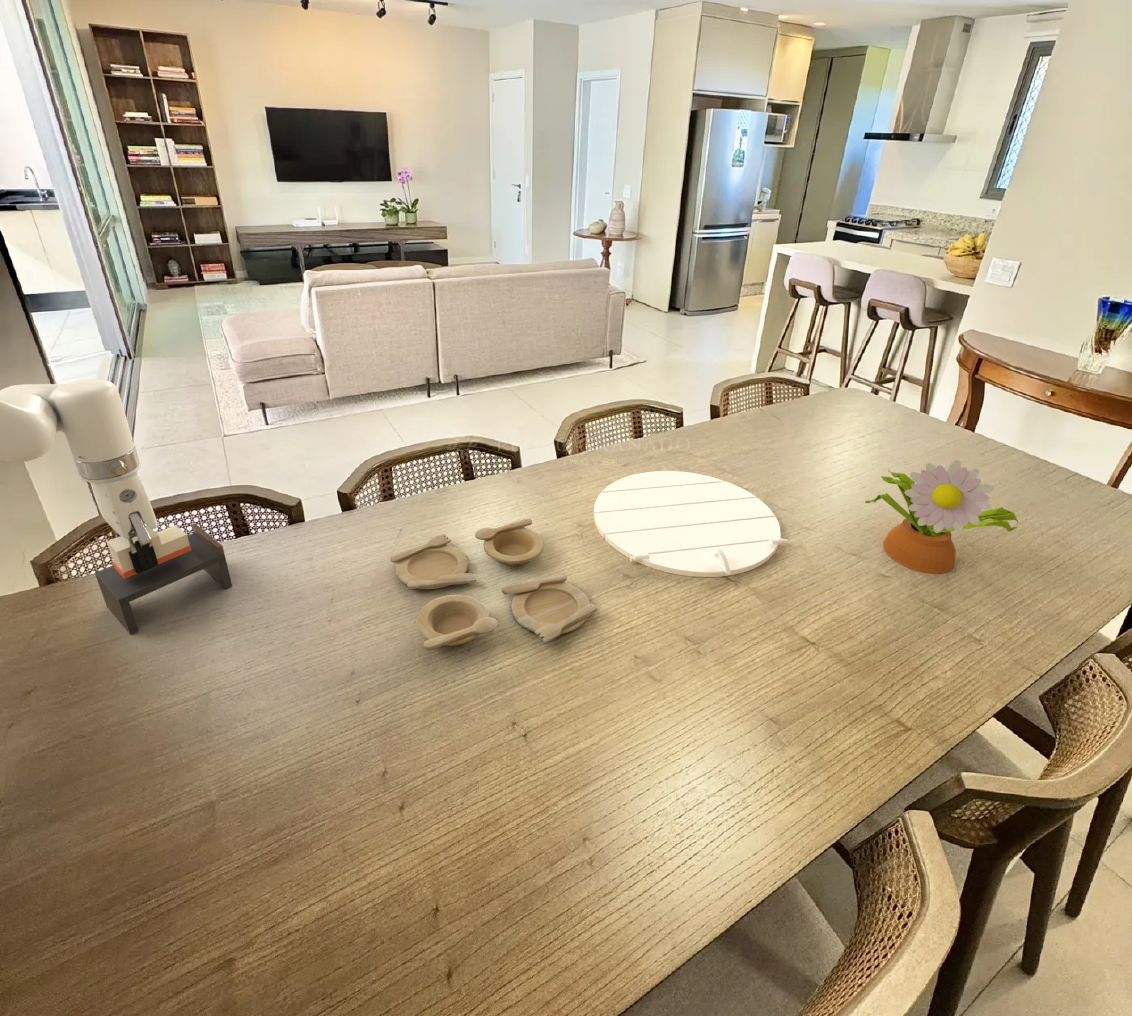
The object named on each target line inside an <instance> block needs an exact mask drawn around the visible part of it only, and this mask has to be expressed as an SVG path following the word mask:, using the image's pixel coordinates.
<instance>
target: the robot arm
mask: <svg viewBox="0 0 1132 1016" xmlns="http://www.w3.org/2000/svg"><path fill="white" fill-rule="evenodd" d="M57 432H62V433H63V434H64V435H65V438H66V440H67V443H68V447H69V449H70V453H71V454H72V458H73V461H74V463H75V467H76V470H77V472H78V475H79V478H80V480H81V481H82V482H85V483H89V484H90V487H91V491H92V493H93V496H94V498H95V501H96V505H97V507H98V509H99V512H100V515H101V517H102V519H104V521H105V522H106V523H107V524H108V525H109V526H110V528H112V531H113V534H114V536H115V538H117V537H120V536H121V537H122V538H125V539H126V540H127V543H128V545H129V548H130V550H131V551H130V552H129V555H130V558H131V561H132V564H133V567H134V570H135V572H136V573H141V572H143V571H146V570H148V569H151V568H153V567H155V566H157V565H158V561H157V557H156V554H155V551H154V548H153V545H152V542H151V538H150V536H149V534H148V532H147V529H146V526H148V527H149V528H150V529H153V530H156V529H157V528H158V526H159V523H158V520H157V517H156V514H155V512H154V509H153V506H152V503H151V500H150V497H149V494H148V492H147V490H146V488H145V484H144V483H143V480H142V479H141V477H140V474H139V473H138V471H139V470H140V468H141V462H140V459H139V456H138V451H137V449H136V448H137V447H136V445H135V442H134V438H133V436H132V432H131V429H130V425H129V421H128V418H127V415H126V411H125V408H124V405H123V402H122V399H121V395H120V392H119V389H118V387H117V386H116V385H115V383H113V382H111V381H109V380H107V379H102V378H86V379H79V380H75V381H71V382H67V383H23V384H14V385H10V386H7V387H4V388H2V389H0V461H2V462H6V463H7V462H8V463H24V462H25V463H26V462H30V461H34V460H37V459H38V458H40V457H42V456H44V455H45V454H46V453H48V451H49V450H50V449H51V448H52V447H53V445H54V443H55V440H56V436H57ZM130 532H131V533H130ZM136 536H137V537H138V540H137V541H135V543H134V542H133V540H132V538H133V537H136Z"/></svg>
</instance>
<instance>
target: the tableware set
mask: <svg viewBox="0 0 1132 1016" xmlns="http://www.w3.org/2000/svg"><path fill="white" fill-rule="evenodd" d="M532 524H533V520H532V519H531V518H524V519H521V520H518V521H515V522H512V523H508V524H504V525H503V526H499V527H483V528H480V529H478V530H476V531H475V533H474V537H475V539H477V540H481V541H483V550H484V552H485V554H486V555H487V556H488V557H489V558H490V559H493V560H494V561H495V562H496V561H497V562H499V563H501V564H503V565H506V566H510V567H511V566H512V567H516V566H517V567H518V566H522V565H524V564H526V563H527V562H530V561H533V560H535V559H537V558H538V557H540V555H541V554H542V553H543V551H544V548H545V541H544V539H543V537H542V536H541V535H540V534H539V533H538V532H537V531H535V530H533V529H530V528H527V527H529V526H531V525H532ZM451 542H452V539H450V538H449V537H448V536H446V534H444V533H442V534H440V535H437V536H434V537H432V538H430V540H429V541H428V542H427V543H425V544H423V545H419V546H417V547H414V548H410V549H408V550H404V551H402V552H398V553H396V554H394V555H391V557H389V558H390V562H391V563H393V564H395V569H394V570H395V575H396V577H397V579H398V580H400V582H401V583H403V584H405V585H406V588H407V589H408V590H415V589H417V590H418V589H420V590H434V589H435V590H436V589H442V588H445V587H449V586H451V585H463V584H474V583H476V582H477V576H476V574H474V573H472V572H468V569H469V565H470V564H469V563H470V562H469V558H468V556H467V555H466V553H465V552H464V551H462V550H461V549H460V548H458V547H456V546H453V545H450V544H449V543H451ZM467 572H468V573H467ZM567 580H568V576H567V575H566V574H557V575H552V576H547V577H542V578H537V579H532V580H527V581H522V582H518V583H512V584H506V585H502V586H500V590H501V592H502V594H504V595H514V596H513V599H512V600H511V607H510V608H511V614H512V616H513V618H514V620H515V621H516V623H518V624H519V626H521V627H522V628H524V629H526V630H527V631H529V632H532V633H534V634H535V635H536V636H538V638H539V639H542V641H543V642H544V643H545V644H547V643H549V642H551V641H553V640H555V639H556V638H559V637H560V635H563V634H566V633H570V632H572V631H575V630H576V629H578V628H579V627H581V626H582V625H583V624H585V622H586V621H587V619H588V617H590V616H591V615H593V614H595V613H596V612H597V611H598V605H596V604H595V603H590V600H589V598H588V596H587V594H586V593H585V592H583V590H582V589H580V588H578V587H577V586H575V585H573V584H571V583H567ZM498 623H499V621H498V620H497V619H496V618H494V617H492V616H490V613H489V610H488V608H487V607H486V605H485V604H484V603H483V602H482V601H480V600H478V599H477V598H475V597H472V596H469V595H464V594H449V595H448V594H447V595H443V596H439V597H436V598H434V599H432V600H430V601H429V602H428V603H426V604H425V605H424V606H422V608H421V609H420V610H419V612H418V614H417V616H416V620H415V624H416V628H417V631H418V632H419V634H420V636H422V637H423V638H424V639H425V641H424V642H423V649H425V650H426V651H432V650H435V649H438V648H440V647H443V646H447V647H456V646H461V645H463V644H465V643H469V642H471V641H473V640H475V639H476V638H478V637H480V635H482V636H483V635H488V634H491V633H493V632H495V630H497V628H498V625H499V624H498Z"/></svg>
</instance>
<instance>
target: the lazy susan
mask: <svg viewBox="0 0 1132 1016" xmlns="http://www.w3.org/2000/svg"><path fill="white" fill-rule="evenodd" d="M593 520H594V524H595V527H596V529H597V531H598V532H599V534H600V535H601V537H602V538H603V539H604V541H606V542H607V544H609V545H610V547H612V548H613V549H614V550H616V551H617V552H619V553H620V554H622V555H623V556H625V557H627V558H628V559H629V561H630V562H636V563H638V564H640V565H643V566H646V567H648V568H651V569H654V570H657V571H660V572H665V573H668V574H673V575H678V576H685V577H694V578H695V577H696V578H719V577H728V576H734V575H739V574H743V573H747V572H750V571H752V570H754V569H756V568H758V567H760V566H762V565H763V564H765V563H767V562H768V561H769V560H770V559H771V558H772V557H773V556H774V555H775V553H776V551H777V549H778V548H779V546H780V545H787V544H788V543H789V542H788V539H787V538H786V539H784V538H781V534H782V533H781V525H780V523H779V520H778V518H777V517H776V515H775V513H774V511H772V509H771V508H770V507H769V506H768V505H767V504H765V502H764V501H762V499H760V498H759V497H757V496H756V495H754V494H753V493H751V492H749V491H748V490H746V489H744V488H743V487H740V486H738V485H736V484H733V483H732V482H729V481H725V480H724V479H723V480H722V479H720V478H717V477H713V476H710V475H705V474H700V473H695V472H688V471H678V470H677V471H676V470H656V471H645V472H639V473H634V474H631V475H628V476H625V477H622V478H620V479H618V480H615V481H614V482H612V483H610V484H609V485H607V486H606V487H605V488H604V489H603V490H602V491H601V492H600V493H599V494H598V496H597V497H596V500H595V501H594V506H593Z"/></svg>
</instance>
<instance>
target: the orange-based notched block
mask: <svg viewBox="0 0 1132 1016" xmlns="http://www.w3.org/2000/svg"><path fill="white" fill-rule="evenodd" d="M145 526H146V529H147V532H148V534H149V536H150V538H151V542H152V545H153V548H154V551H155V554H156V557H157V561H158V564H161V563H163V562H165V561H168V560H170V559H173V558H175V557H177V556H180V555H182V554H184V553H187V552H189V551H191V548H190V545H189V541H188V537H187V535H188V534H187V533H186V532H185V531H183V530H182V529H181V528H180V527H179V526H177V525H176V524H175V525H172V526H170V527H167V528H164V529H162V530H160V531H157V532H156V531H155V529H150V528H149V527H148V526H147V525H145ZM130 533H131V532H130ZM132 540H133V542H134V543H135V541H137V540H138V537H137V536H136V537H133V538H132ZM106 544H107V547H108V550H109V553H110V555H111V558H112V563H111V564H112V566H113V567H114V568H115V569H116V570H117V571H118V572H119V574H120V575H121V576H122V577H123V578H124V579H125V578H128V577H130V576H132V575H135V574H137V573H136V572H135V570H134V567H133V564H132V561H131V558H130V555H129V552H130V551H131V550H130V548H129V545H128V543H127V540H126V539H125V538H122V537H121V536H120V537H115V538H112V539H109V540H107V541H106Z"/></svg>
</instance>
